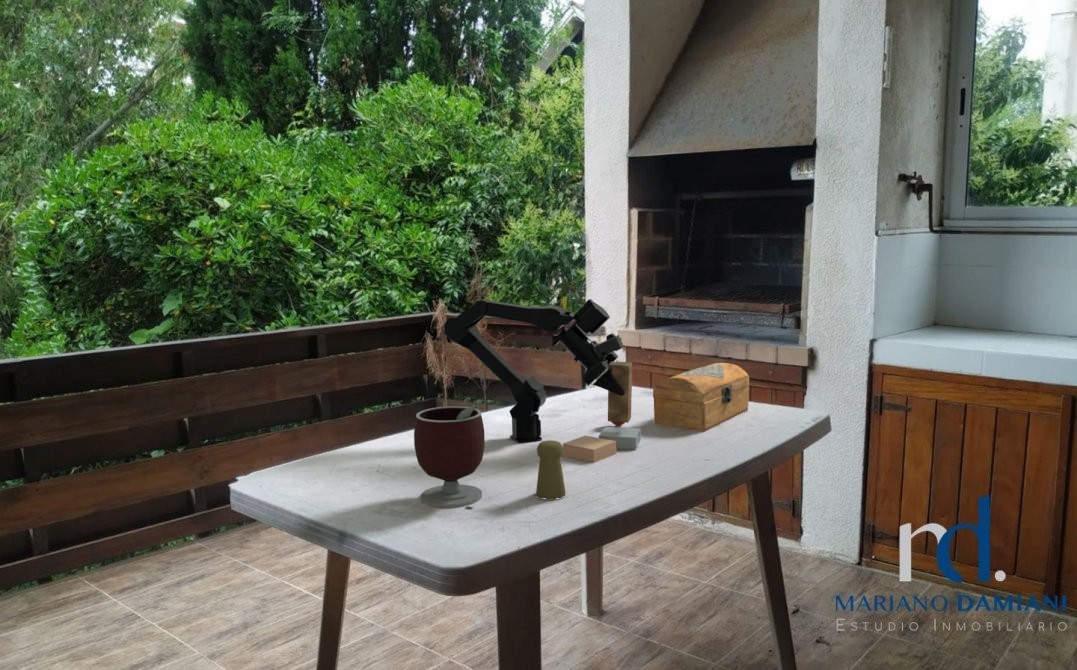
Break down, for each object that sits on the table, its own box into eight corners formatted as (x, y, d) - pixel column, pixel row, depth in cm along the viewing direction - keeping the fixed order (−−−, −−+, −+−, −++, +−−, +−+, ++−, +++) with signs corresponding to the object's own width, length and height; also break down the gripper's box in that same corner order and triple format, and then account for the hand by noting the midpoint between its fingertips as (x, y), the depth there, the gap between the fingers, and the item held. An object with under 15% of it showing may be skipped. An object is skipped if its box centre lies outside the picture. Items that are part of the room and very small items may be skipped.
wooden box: (706, 433, 203) (707, 380, 201) (651, 425, 213) (651, 374, 211) (754, 411, 226) (755, 364, 224) (702, 405, 236) (702, 359, 234)
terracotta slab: (562, 455, 184) (562, 443, 184) (585, 447, 191) (585, 435, 191) (594, 462, 179) (593, 449, 178) (616, 453, 185) (616, 441, 185)
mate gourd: (402, 497, 157) (398, 399, 154) (457, 481, 167) (453, 389, 164) (450, 516, 146) (447, 411, 143) (506, 498, 156) (503, 399, 153)
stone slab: (598, 447, 190) (598, 435, 190) (605, 438, 199) (605, 426, 199) (635, 449, 188) (635, 437, 188) (640, 440, 197) (640, 428, 196)
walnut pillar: (607, 421, 191) (608, 364, 189) (611, 416, 196) (612, 361, 194) (628, 422, 190) (629, 365, 188) (631, 417, 195) (632, 362, 193)
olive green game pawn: (531, 492, 159) (530, 439, 157) (559, 488, 161) (558, 436, 159) (542, 501, 153) (541, 447, 152) (570, 497, 155) (569, 443, 154)
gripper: (596, 328, 182) (643, 377, 180) (610, 319, 200) (653, 364, 198) (563, 361, 185) (609, 409, 184) (580, 349, 203) (622, 393, 201)
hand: (625, 392), depth 192 cm, fingers closed on walnut pillar, 5 cm apart
